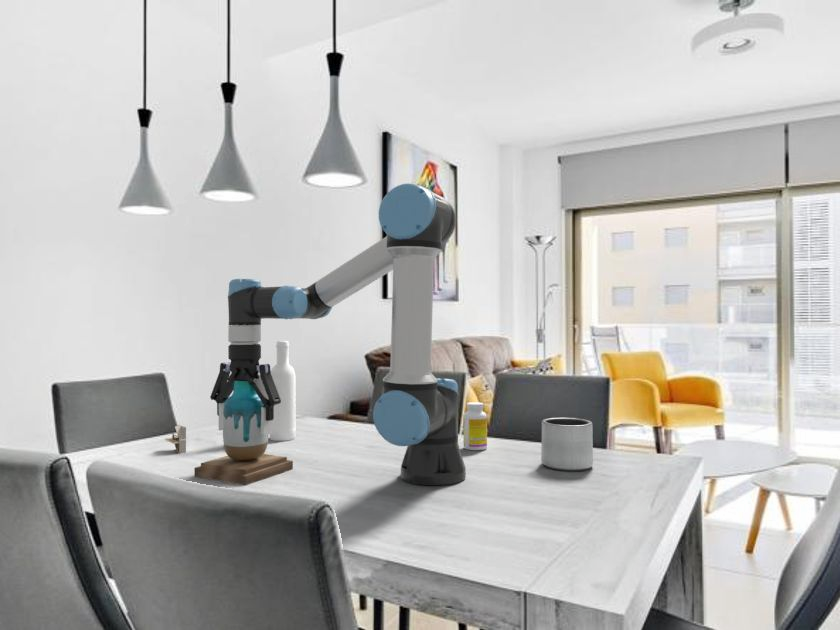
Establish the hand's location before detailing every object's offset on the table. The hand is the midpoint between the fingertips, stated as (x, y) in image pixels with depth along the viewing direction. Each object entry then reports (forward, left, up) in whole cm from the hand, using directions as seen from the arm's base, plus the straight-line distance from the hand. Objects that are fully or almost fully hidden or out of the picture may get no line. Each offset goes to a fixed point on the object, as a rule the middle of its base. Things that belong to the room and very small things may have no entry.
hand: (244, 432), depth 144 cm
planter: (-67, -42, -10) cm, 80 cm away
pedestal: (0, 0, -10) cm, 10 cm away
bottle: (+19, -36, -10) cm, 42 cm away
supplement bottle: (-39, -50, -10) cm, 64 cm away
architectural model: (+33, -9, -10) cm, 36 cm away
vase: (0, 0, -7) cm, 7 cm away
